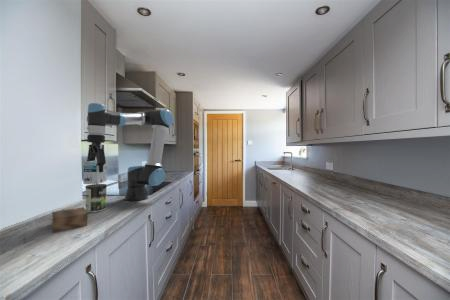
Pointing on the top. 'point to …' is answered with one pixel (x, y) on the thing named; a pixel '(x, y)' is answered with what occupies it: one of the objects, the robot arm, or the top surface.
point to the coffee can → (95, 197)
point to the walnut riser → (69, 219)
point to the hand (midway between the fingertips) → (95, 177)
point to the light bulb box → (93, 173)
